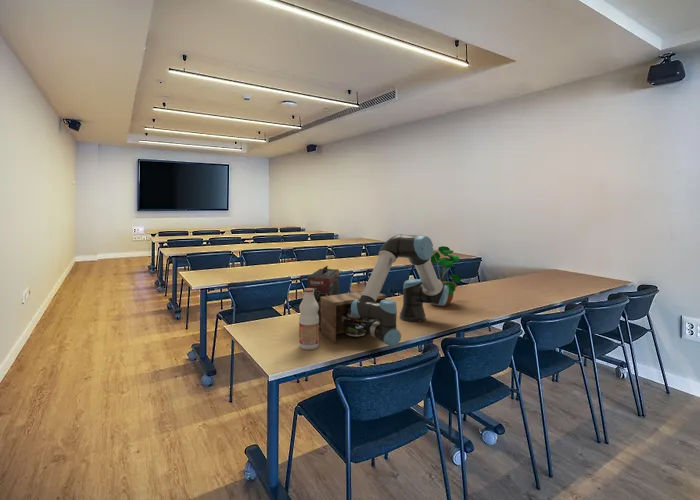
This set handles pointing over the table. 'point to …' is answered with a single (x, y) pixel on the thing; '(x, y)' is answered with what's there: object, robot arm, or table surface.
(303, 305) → the fruit juice
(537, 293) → the table surface
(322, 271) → the headset box
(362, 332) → the coffee can
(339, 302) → the cubby
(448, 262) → the potted plant
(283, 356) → the table surface
